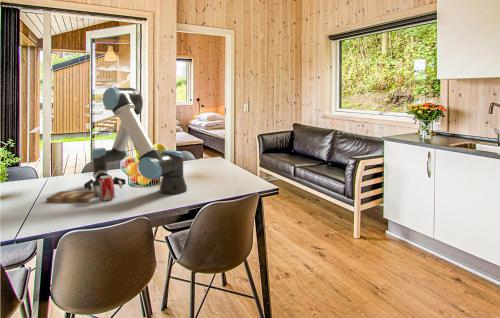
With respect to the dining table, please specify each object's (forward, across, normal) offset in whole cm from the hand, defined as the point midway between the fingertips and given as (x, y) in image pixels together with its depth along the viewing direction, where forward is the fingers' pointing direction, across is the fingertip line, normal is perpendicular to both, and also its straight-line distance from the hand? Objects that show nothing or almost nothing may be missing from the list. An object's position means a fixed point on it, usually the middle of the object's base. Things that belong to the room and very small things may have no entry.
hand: (107, 187), depth 177 cm
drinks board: (-12, +16, -7) cm, 21 cm away
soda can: (-3, 0, -7) cm, 8 cm away
